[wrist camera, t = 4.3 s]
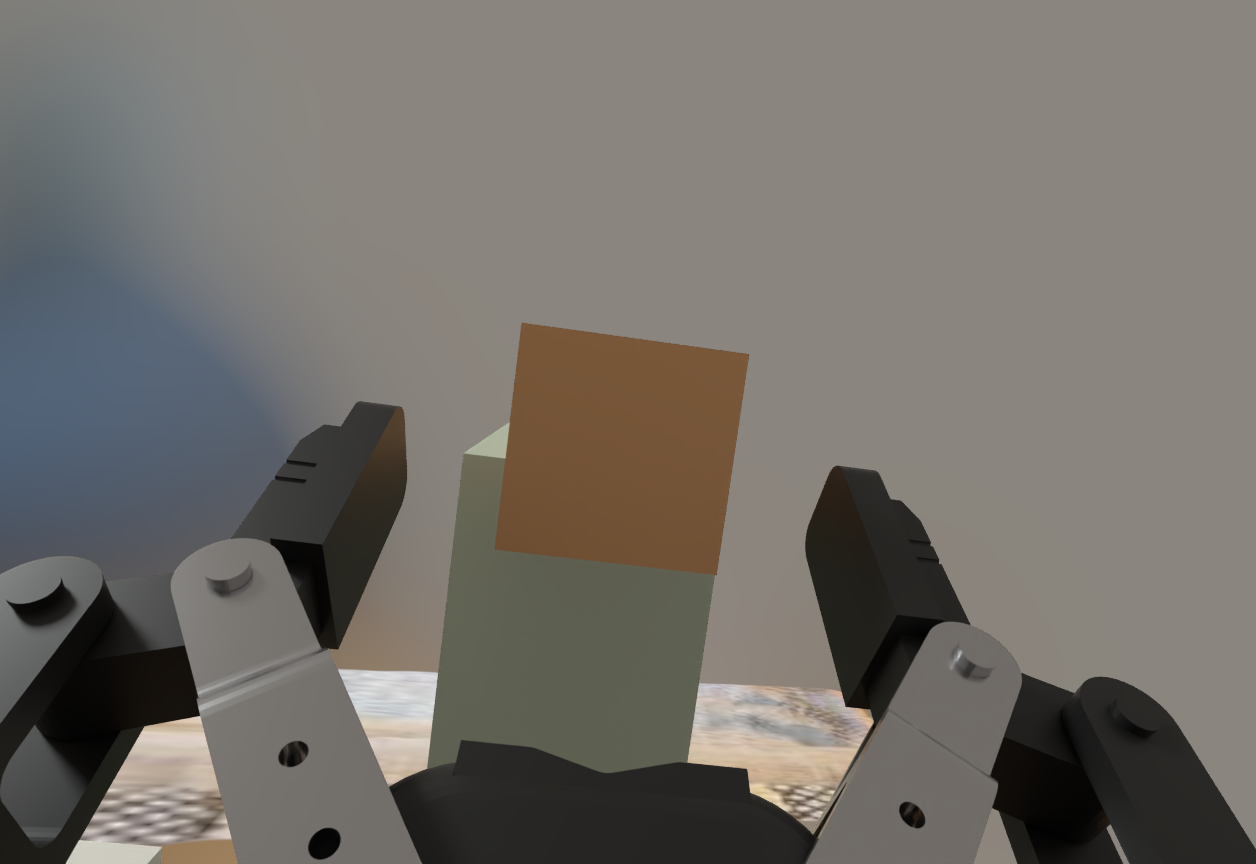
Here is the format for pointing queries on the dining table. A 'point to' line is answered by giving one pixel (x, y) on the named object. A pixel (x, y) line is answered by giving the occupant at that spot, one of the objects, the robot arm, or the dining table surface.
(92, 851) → the post
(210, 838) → the dining table surface
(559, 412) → the bar
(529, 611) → the stand
